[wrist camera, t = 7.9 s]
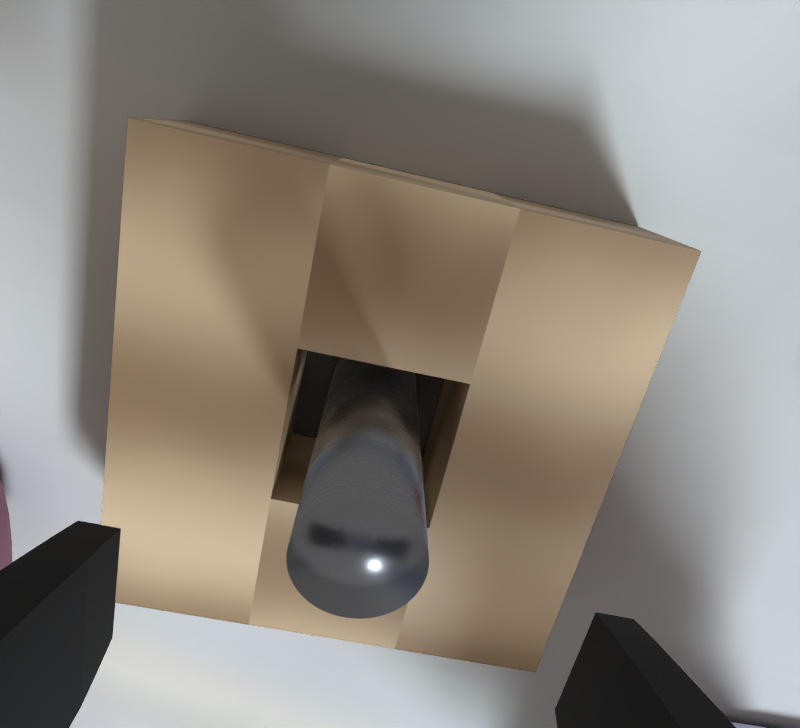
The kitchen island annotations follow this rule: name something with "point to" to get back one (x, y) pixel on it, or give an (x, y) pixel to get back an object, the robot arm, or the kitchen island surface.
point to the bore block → (377, 344)
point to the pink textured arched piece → (4, 532)
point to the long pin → (363, 498)
